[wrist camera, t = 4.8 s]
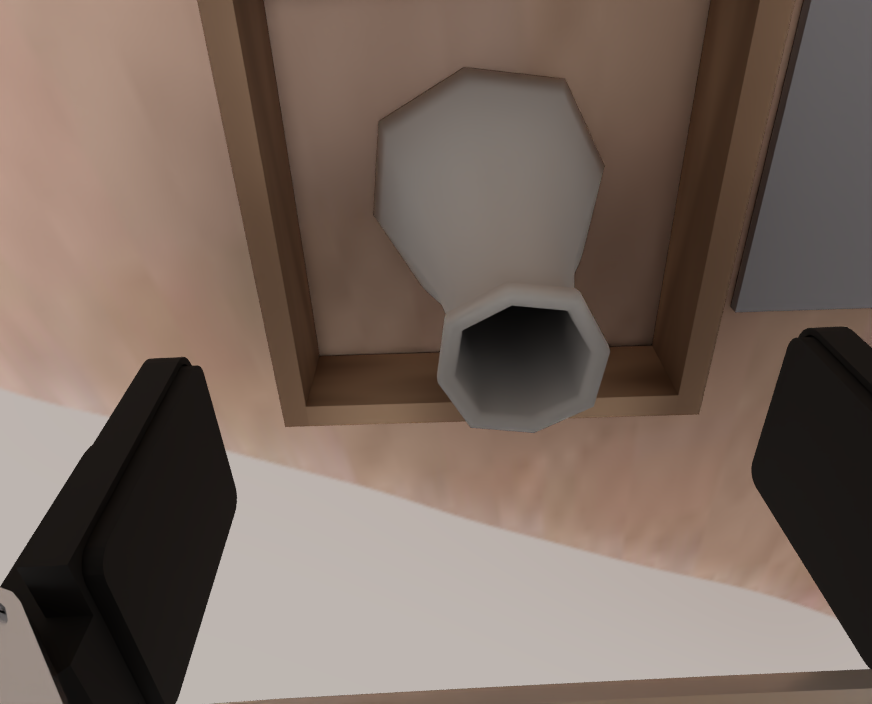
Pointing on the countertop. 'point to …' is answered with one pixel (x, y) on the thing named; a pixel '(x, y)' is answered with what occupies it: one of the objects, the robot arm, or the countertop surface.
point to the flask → (498, 240)
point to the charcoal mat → (817, 173)
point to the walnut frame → (417, 372)
